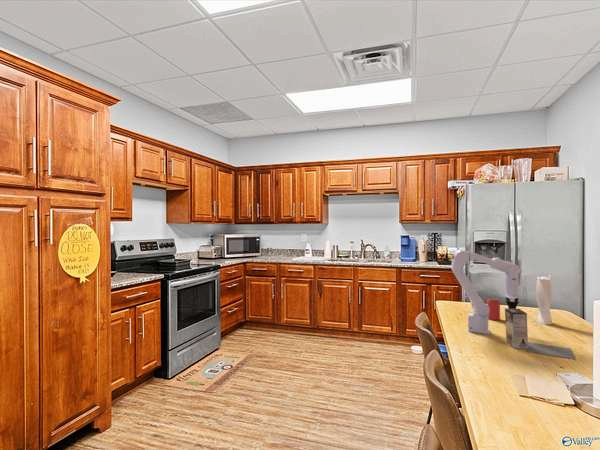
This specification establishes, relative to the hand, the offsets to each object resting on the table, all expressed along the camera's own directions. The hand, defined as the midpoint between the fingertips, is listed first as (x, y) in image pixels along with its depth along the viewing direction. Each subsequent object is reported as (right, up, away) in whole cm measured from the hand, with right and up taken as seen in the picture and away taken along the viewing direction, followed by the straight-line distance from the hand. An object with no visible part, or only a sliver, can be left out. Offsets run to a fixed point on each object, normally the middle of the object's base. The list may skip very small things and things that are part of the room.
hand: (512, 312), depth 177 cm
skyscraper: (+29, -11, +17) cm, 36 cm away
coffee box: (-9, -11, -18) cm, 23 cm away
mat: (+1, -11, -24) cm, 26 cm away
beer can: (+5, -11, +26) cm, 29 cm away
